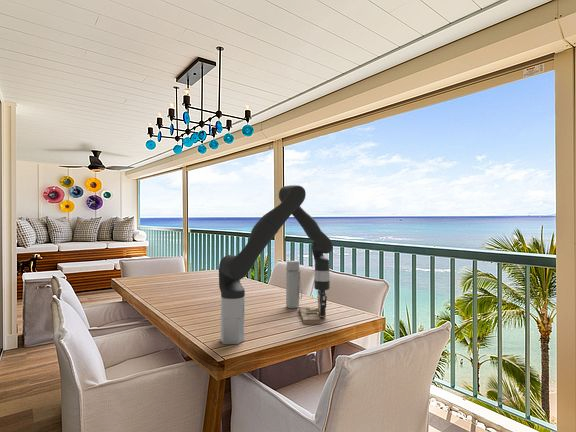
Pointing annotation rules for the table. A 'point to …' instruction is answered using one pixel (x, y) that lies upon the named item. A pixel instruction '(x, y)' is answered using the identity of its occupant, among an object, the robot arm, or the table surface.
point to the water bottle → (293, 284)
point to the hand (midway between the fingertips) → (321, 313)
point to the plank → (309, 316)
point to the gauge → (316, 310)
